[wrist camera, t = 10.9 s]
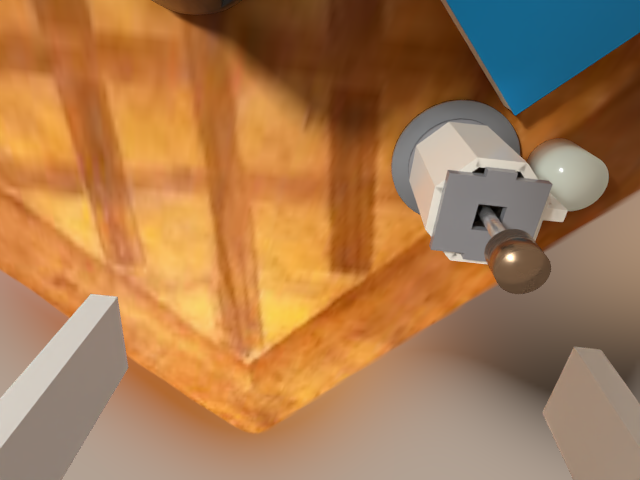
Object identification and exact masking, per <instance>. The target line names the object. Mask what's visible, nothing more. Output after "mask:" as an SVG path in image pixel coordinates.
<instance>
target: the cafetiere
mask: <svg viewBox="0 0 640 480" xmlns="http://www.w3.org/2000/svg"><path fill="white" fill-rule="evenodd" d="M408 174H409V181H410V184H411V187H412V190H413V193H414V196H415V199H416V202H417V205H418V208H419V212H420V215H421V218H422V221H423V224H424V227H425V229H426V231H427V232H428V233H429V234H430V236H431V241H430V245H429V246H430V249H431V250H438V251H443V252H444V253H445V255H446V256H447V257H448V258H449V260H453V261H462V262H471V263H480V264H488V263H487V262H486V259H485V255H484V251H485V247H486V245H487V243H488V241H489V240H490V239H491V238H492V237H491V236H490V234H489V232H488V230H487V229H486V227H485V225H484V224H483V222H482V220H481V219H480V217H479V215H478V214H477V212H476V211H477V208H478V204H483V205H489V206H490V207H491V209H492V210H493V212H494V213H495V215H496V216H497V218H498V219H499V221H500V222H501V224H502V225H503V227H504V228H505V229H506V230H508V229H520V230H523V231H525V232H527V233H528V234H529V235H530V236H531V237H532V238H533V239H534V241H536V238H537V235H538V232H539V230H540V227H541V224H542V222H543V220H546V221H556V222H563V221H564V219H565V216H566V214H567V211H568V210H567V209H566V208H565V207H564V206H563V205H562V204H561V203H560V202H559V201H558V200H557V199H556V198H555V197H554V196H553V195H552V194H551V193H550V190H551V187H552V185H553V184H552V183H551V182H550V181H547V180H538V178H537V177H536V175H535V174H534V172H533V171H532V169H531V167H530V166H529V164H528V163H527V162H526V161H525V160H524V159H523V158H522V157H521V156H519V155H518V154H517V153H516V152H515V151H514V150H513V149H512V148H511V147H510V146H509V145H508V144H506V143H505V142H504V141H503V140H502V139H501V138H500V137H499V136H498V135H497V134H496V133H495V132H493V131H492V130H491V129H490V128H489V127H488V126H486V125H484V124H483V123H481V122H478V121H475V120H472V119H464V118H459V119H451V120H447V121H444V122H441V123H439V124H437V125H435V126H433V127H432V128H430V129H429V130H428V131H426V132H425V133H424V134H423V135H422V136H421V137H420V138H419V140H418V141H417V142H416V144H415V146H414V147H413V149H412V152H411V154H410V158H409V163H408Z"/></svg>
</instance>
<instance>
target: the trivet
mask: <svg viewBox="0 0 640 480" xmlns="http://www.w3.org/2000/svg"><path fill="white" fill-rule="evenodd" d="M459 118H464V119H472V120H475V121H478V122H481V123H483V124H484V125H486V126H488V127H489V128H490V129H491V130H492V131H493V132H495V133H496V134H497V135H498V136H499V137H500V138H501V139H502V140H503V141H504V142H505V143H506V144H508V145H509V146H510V147H511V148H512V149H513V150H514V151H515V152H516V153H517V154H518V155H519V156H520V146H519V140H518V137H517V135H516V132H515V130H514V128H513V126H512V125H511V124H510V122H509V121H508V120H507V119H506V118H505V117H504V116H503V115H502V114H501V113H500V112H498V111H497V110H496V109H494V108H493V107H491V106H489V105H487V104H484V103H481V102H478V101H473V100H461V99H460V100H451V101H446V102H442V103H439V104H437V105H434V106H432V107H430V108H428V109H426V110H425V111H423V112H422V113H420V114H419V115H417V116H416V117H415V118H414V119H413V120H412V121H411V122H410V123H409V124H408V125H407V126H406V127H405V129H404V130H403V132H402V133H401V135H400V137H399V138H398V140H397V142H396V145H395V148H394V151H393V155H392V163H391V167H392V177H393V181H394V184H395V188H396V190H397V192H398V194H399V196H400V197H401V199H402V200H403V201H404V202H405V204H406V205H407V206H408V207H410V208H411V209H412V210H413V211H415V212H416V213H418V214H420V212H419V208H418V205H417V202H416V199H415V196H414V193H413V190H412V187H411V184H410V181H409V174H408V163H409V158H410V154H411V152H412V149H413V147H414V146H415V144H416V142H417V141H418V140H419V138H420V137H421V136H422V135H423V134H424V133H425V132H426V131H428V130H429V129H430V128H432V127H433V126H435V125H437V124H439V123H441V122H444V121H447V120H451V119H459Z"/></svg>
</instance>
